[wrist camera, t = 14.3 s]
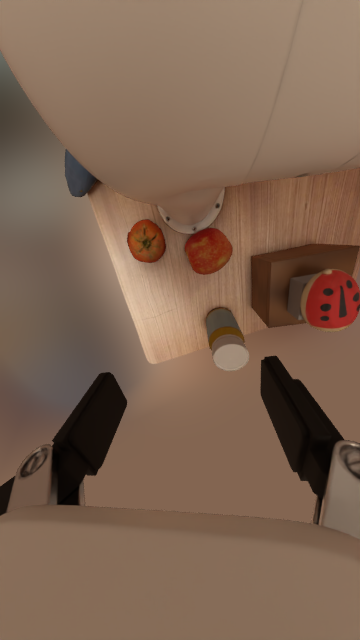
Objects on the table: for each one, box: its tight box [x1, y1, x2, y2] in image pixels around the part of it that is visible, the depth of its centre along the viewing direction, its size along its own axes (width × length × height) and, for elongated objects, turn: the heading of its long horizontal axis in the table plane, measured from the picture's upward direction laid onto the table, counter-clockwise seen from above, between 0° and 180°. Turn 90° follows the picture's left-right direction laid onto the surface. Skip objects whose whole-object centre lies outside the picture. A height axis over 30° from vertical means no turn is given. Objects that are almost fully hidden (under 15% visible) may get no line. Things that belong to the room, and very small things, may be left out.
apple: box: [185, 228, 232, 275], centre depth 30 cm, size 8×8×8 cm
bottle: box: [206, 308, 249, 371], centre depth 34 cm, size 7×7×15 cm
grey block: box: [287, 273, 351, 320], centre depth 25 cm, size 6×6×4 cm
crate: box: [251, 244, 360, 328], centre depth 31 cm, size 12×12×10 cm
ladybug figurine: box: [300, 269, 360, 332], centre depth 22 cm, size 7×10×4 cm
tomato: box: [127, 220, 166, 263], centre depth 33 cm, size 8×7×7 cm
